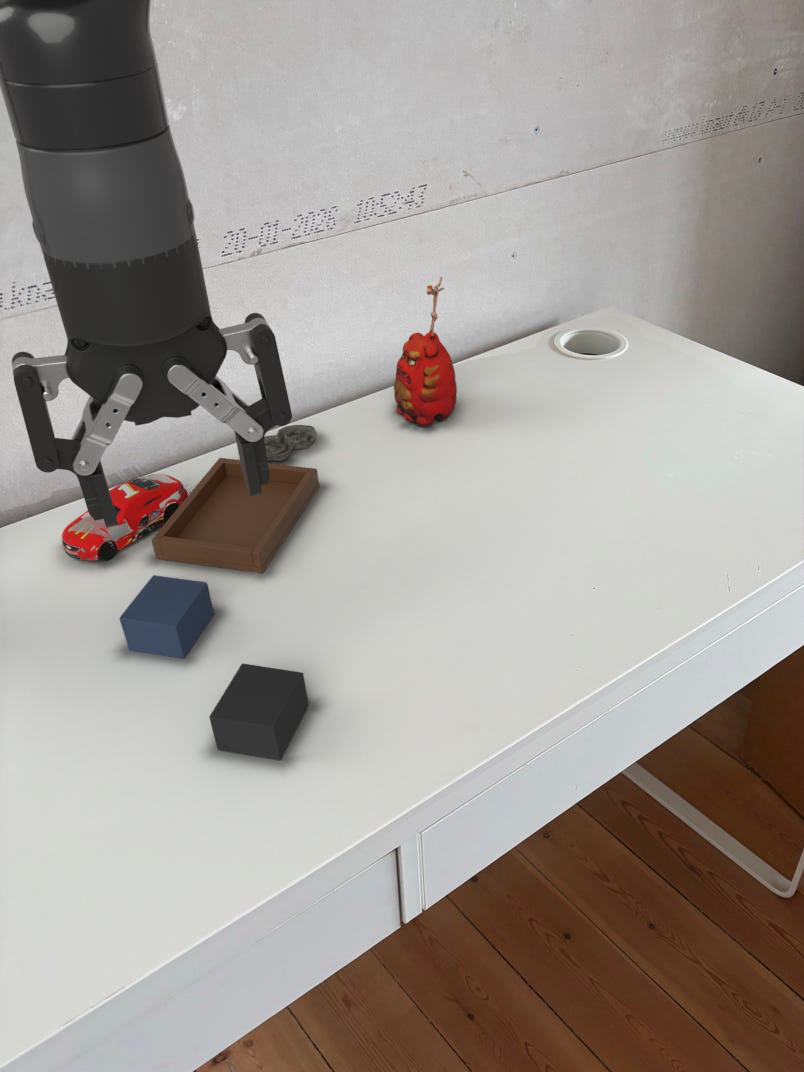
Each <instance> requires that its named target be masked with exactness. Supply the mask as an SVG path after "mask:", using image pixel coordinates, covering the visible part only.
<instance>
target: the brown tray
mask: <svg viewBox="0 0 804 1072" xmlns="http://www.w3.org/2000/svg"><path fill="white" fill-rule="evenodd" d="M268 468H269V474H270V477H269V481H268V483H267V484H263V485H261V490H262V494H259V495H254V496H250V494H249V492H248V490H247V487H246V485H245V482H244V478H243V473H242V468H241V463H240V459H235V458H225V457H218V459H217V460H216V461H215V463H214V464H213V465H212V466H211V467H210V469H209V470H208V471H207V472H206V473H205V475H204V476H203V477H202V479H200V480H199V482H198V483H197V484H196V486H195V487H194V488H193V489H192V491H190V493H189V494H188V496H187V498H186V499H185V500H184V501H183V502H182V504H181V505H180V506H179V507H178V508H177V510H176V511H175V512H174V513H173V514H172V516H171V517H170V518H169V519H168V520H167V521H165V523H164V524H163V525H161V526H162V527H161V528H160V529H159V530H158V531H157V533H156V534H155V535H154V536H153V537H152V538H151V543H152V547H153V552H154V554H155V555H154V556H155V559H156V560H161V561H169V562H175V563H183V564H190V565H191V564H192V565H197V566H205V567H206V566H207V567H213V568H221V569H229V570H234V571H235V570H236V571H243V572H249V573H259V574H263V573H264V572H265V571H266V569H267V568H268V567H269V565H270V563H271V562H272V560H273V558H274V557H275V555H276V554H277V553H278V551H279V549H280V548H281V546H282V545H283V543H284V542H285V540H286V539H287V538H288V536H289V534H290V533H291V531H292V530H293V528H294V527H295V525H296V523H297V522H298V521H299V519H300V517H301V516H302V514H303V513H304V512H305V510H306V509H307V507H308V506H309V504H310V502H311V501H312V499H313V498H314V496H315V495H316V493H317V492H318V491H319V489H320V482H319V474H318V468H314V467H305V466H297V465H288V464H278V463H271V462H268Z"/></svg>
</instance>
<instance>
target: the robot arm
mask: <svg viewBox="0 0 804 1072" xmlns="http://www.w3.org/2000/svg"><path fill="white" fill-rule="evenodd" d="M151 2H152V0H0V90H1V94H2V98H3V101H4V105H5V108H6V111H7V115H8V118H9V122H10V126H11V128H12V132H13V136H14V139H15V144H16V148H17V152H18V158H19V163H20V170H21V177H22V183H23V184H22V185H23V188H24V189H23V190H24V194H25V198H26V201H27V205H28V209H29V211H30V215H31V218H32V221H31V222H32V223H31V224H32V229H33V233H34V236H35V238H36V240H37V241H38V243H39V247H40V250H41V253H42V255H43V260H44V264H45V267H46V271H47V274H48V277H49V280H50V281H49V282H50V284H51V287H52V292H53V294H54V297H55V301H56V304H57V308H58V311H59V315H60V319H61V323H62V325H63V329H64V332H65V336H66V339H67V340H66V341H67V342H66V343H67V344H66V348H65V352H64V354H60V355H52V356H42V357H35V356H34V355H33V354H31V353H30V352H27V351H19V352H17V353H15V354H14V355H13V356H12V359H11V368H12V377H13V382H14V387H15V391H16V395H17V398H18V402H19V406H20V409H21V414H22V418H23V421H24V425H25V429H26V432H27V437H28V441H29V444H30V448H31V451H32V455H33V459H34V463H35V465H36V468H37V469H38V470H39V471H40V472H43V473H46V474H47V473H53V472H55V471H57V470H62V471H69V472H71V473H73V474H74V475H75V476H76V477H77V480H78V482H79V483H78V484H79V486H80V490H81V493H82V496H83V499H84V502H85V505H86V508H87V511H88V512H89V514H90V516H91V517H92V518H93V519H94V520H95V521H96V520H101V519H104V522H105V525H106V528H108V527H112V526H117V525H118V521H117V517H116V513H115V509H114V505H113V502H112V498H111V495H110V488H109V484H108V481H107V478H106V474H105V471H104V468H103V464H102V460H101V459H102V457H103V456H104V454H105V451H106V450H107V448H108V447H109V446H111V445H112V444H113V442H114V440H115V438H116V436H117V434H118V432H119V431H120V428H121V426H122V425H123V423H124V421H125V422H129V423H134V425H135V427H136V426H142V425H148V424H151V423H153V422H155V421H158V420H160V419H161V418H174V419H175V418H176V419H179V418H184V417H189V416H190V417H191V416H193V415H192V411H195V410H196V409H198V408H199V407H200V406H201V407H202V408H203V409H204V410H205V411H206V412H208V413H209V414H210V415H211V416H213V417H214V418H215V419H216V420H217V421H219V422H220V423H222V424H226V426H228V427H229V428H231V429H232V430H233V431H234V436H235V442H236V447H237V451H238V457H239V460H240V463H241V468H242V473H243V478H244V482H245V485H246V487H247V490H248V492H249V494H250V496H254V495H259V494H262V490H261V485H263V484H267V483H268V481H269V477H270V474H269V468H268V463H269V461H267V456H266V450H265V444H264V437H265V436H266V434H267V432H269V430H271V429H273V428H274V427H276V426H278V427H286V426H288V424H290V423H291V421H292V419H293V412H292V407H291V404H290V398H289V394H288V390H287V385H286V380H285V376H284V371H283V367H282V362H281V357H280V354H279V353H280V352H279V348H278V343H277V339H276V334H275V333H274V331H273V330H272V328H271V327H270V325H269V323H268V322H267V320H266V318H265V317H264V315H262V314H261V313H258V312H251V313H250V314H248V315H247V316H246V317H245V319H244V322H243V323H239V324H235V325H231V326H227V327H221V328H220V327H219V326H218V325H217V324H216V322H214V319H213V316H212V312H211V307H210V300H209V296H208V291H207V286H206V280H205V275H204V269H203V265H202V259H201V254H200V248H199V242H198V237H197V233H196V227H195V211H194V206H193V203H192V202H191V199H190V197H189V192H188V186H187V182H186V177H185V173H184V170H183V166H182V162H181V160H180V157H179V153H178V151H177V148H176V146H175V145H176V144H175V141H174V138H173V134H172V130H171V126H170V121H169V115H168V110H167V105H166V100H165V95H164V89H163V84H162V79H161V74H160V69H159V65H158V59H157V55H156V51H155V47H154V46H155V45H154V43H153V38H152V32H151V24H150V23H151V5H152V3H151ZM228 351H233V352H236V353H238V355H239V356H240V357H239V358H240V359H241V360H242V362H243V363H245V364H246V365H250V366H252V365H253V366H254V371H255V375H256V379H257V383H258V388H259V392H260V396H261V398H260V399H259V400H257V401H255V402H253V403H252V404H250V405H249V404H248V403H247V402H246V401H245V400H243V398H241V397H240V396H238V394H236V393H235V392H234V391H233V390H232V389H231V388H230V387H229V386H228V384H227V383H225V382H224V381H223V380H222V379H221V378H220V377H219V376H218V373H219V371H220V369H221V367H222V365H223V364H224V362H225V359H226V357H227V354H228ZM66 379H70V381H71V382H72V383H73V384H74V385H75V386H77V387H78V388H79V389H81V390H82V391H83V392H84V393H86V394H87V395H88V396H89V397H88V399H87V401H86V403H85V405H84V407H83V410H82V416H81V419H80V421H79V422H78V425H77V427H76V429H75V431H74V432H73V433H74V434H73V435H72V437H71V438H62V437H61V438H59V437H56V436H55V432H54V428H53V424H52V419H51V416H50V411H49V408H48V403H47V402H52V401H53V400H55V399H57V397H58V396H59V392H60V391H59V387H60V384H61V383H62V381H64V380H66Z"/></svg>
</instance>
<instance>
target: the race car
mask: <svg viewBox="0 0 804 1072" xmlns="http://www.w3.org/2000/svg"><path fill="white" fill-rule="evenodd" d="M109 491H110V495H111V498H112V502H113V505H114V509H115V513H116V517H117V521H118V525H117V526H112V527H108V528H106V525H105V522H104V519H101V520H96V521H95V520H94V519H93V518H92V517H91V516H90V514H89V512H88V510H86V511H85V512H84V513H82V514H81V515H80V516H78V517H76V518H75V519H74V520H73V521H71V522H70V523H69V524H67V526H65V528H64V529H63V531H62V533H61V542H62V547H63V550H64V551H65V554H66V555H67V556H69V558H71V559H75V560H78V561H83V562H84V561H86V562H92V561H99V560H101V561H105V562H106V561H111V559H113V557H114V556H115V555H116V552H117V550H118V551H121V550H122V549H124V548H125V547H127V546H128V545H129V546H130V545H131V544H132V543H134V542H136V541H137V540H139V539H141V538H142V537H144V536H146V535H147V534H149V533H151V532H153V531H154V530H156V529H158V528H159V527H161V526H163V525H164V524H165V523H166V522H167V520H168V519H169V518H170V517H171V516H172V514H173V513H174V512H175V511H176V510H177V508H178V507H179V506H180V505H181V504H182V502H183V501H184V500H185V499H186V498H187V496H188V495H189V494H188V490H187V489H186V488H185V487H184V484H183V483H182V482H181V481H180V480H179V479H177V478H175V477H173V476H171V475H168V474H166V473H153V474H149V475H143V476H138V477H136V478H133V479H130V480H127V481H124V482H122V483H121V484H118V485H116V486H114V487H113V488H111V489H109Z"/></svg>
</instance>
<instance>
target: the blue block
mask: <svg viewBox="0 0 804 1072" xmlns="http://www.w3.org/2000/svg"><path fill="white" fill-rule="evenodd" d="M214 616H215V611H214V607H213V602H212V598H211V594H210V589H209V584H208V582H207V581H199V580H191V579H184V578H177V577H170V576H163V575H156V574H153V575H152V576H151V577H150V578H149V580H148V581H147V582H146V584H145V585H144V586H143V587H142V589H141V590H140V591H139V593H138V594H137V595H136V596H135V598H134V599H133V600H132V601H131V602H130V604H129V605H128V606H127V607H126V609H125V610H124V611H123V612H122V614H121V615H120V617H119V618H118V619H119V623H120V626H121V628H122V631H123V635H124V638H125V640H126V641H125V642H126V644H127V648H128V651H132V652H137V653H144V654H151V655H158V656H164V657H171V658H178V659H186V657H187V656H188V655H189V652H190V651H191V650H192V648H193V647H194V645H195V644H196V643H197V641H198V639H199V638H200V636H201V635H202V634H203V632H204V631H205V629H206V628H207V626H208V625H209V623H210V622H211V620H212V619H213V617H214Z"/></svg>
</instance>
